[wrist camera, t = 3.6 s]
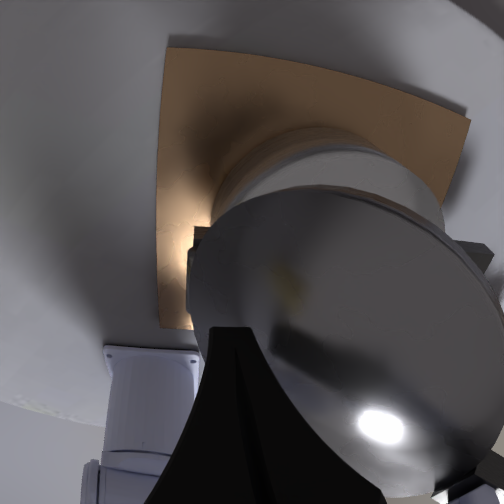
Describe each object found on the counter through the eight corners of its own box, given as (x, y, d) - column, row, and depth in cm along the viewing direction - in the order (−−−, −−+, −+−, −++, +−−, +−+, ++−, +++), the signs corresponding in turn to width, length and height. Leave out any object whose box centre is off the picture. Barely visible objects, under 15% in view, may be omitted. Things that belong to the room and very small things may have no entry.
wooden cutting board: (397, 321, 26) (422, 367, 22) (160, 321, 23) (155, 384, 18) (483, 126, 16) (539, 156, 12) (168, 47, 13) (148, 45, 8)
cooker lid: (194, 359, 17) (177, 370, 17) (213, 125, 10) (182, 128, 10) (433, 533, 9) (421, 553, 8) (651, 387, 2) (657, 418, 1)
